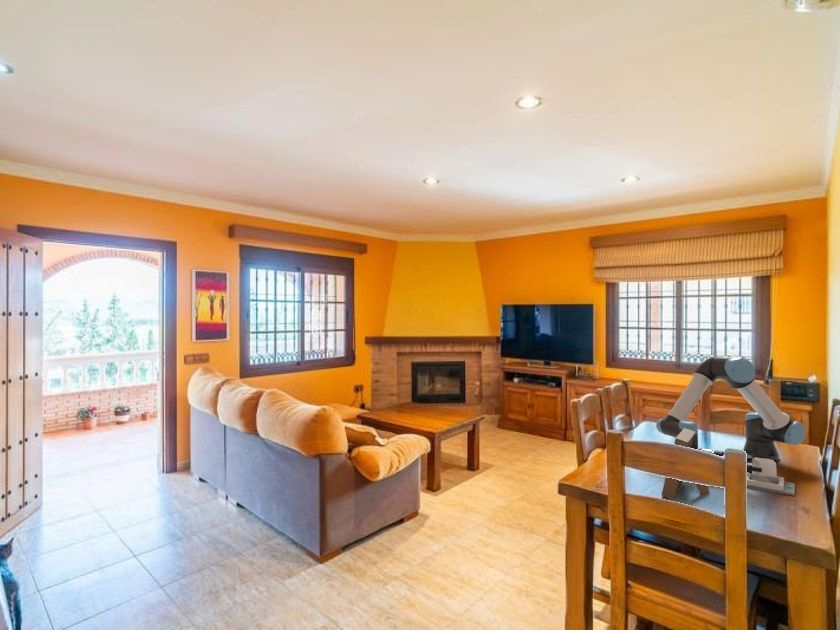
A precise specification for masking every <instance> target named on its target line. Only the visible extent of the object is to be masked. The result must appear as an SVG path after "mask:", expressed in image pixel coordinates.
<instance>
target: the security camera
mask: <svg viewBox="0 0 840 630" xmlns="http://www.w3.org/2000/svg"><path fill="white" fill-rule="evenodd" d="M751 464H752V465H757V466H763V467H770V468H772V475H770V474H764V473H758V472H753V473H755V474H757V475H758V476H759V477H761V478H752V480H756V481H762V482H768V483H772V482H770V481H769V480H767V479H765V478H764V477H763V476H773V477H778V476H777V475H778V473H777V463H776V462H775V461H772V460H770V459H763V458H752V463H751ZM752 465H751V466H752Z"/></svg>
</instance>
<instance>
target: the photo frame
mask: <svg viewBox="0 0 840 630" xmlns="http://www.w3.org/2000/svg"><path fill="white" fill-rule="evenodd" d="M694 436H695V431H692V430H689V429H686V428H684V429H683V430H682V431H681V432H680V434H679V435H678V436H677V437H676V438H675V437H674V438H675V439H674V443H673V445H674V444H676V445H681V446H685V447H690V448H692V444H693V440H694ZM683 483H684V481H683V482H682V481H679V480H676V479H672V478H667V477H666V476H665V479H664V483H663V487H662V491H661V496H663V497H666V498H667V499H670V500H672V501H673V500H675V498H676V496H677V494H678V492H680V491H679V490H680V489H681V488H682V486H683ZM695 486H696V488H697V490H698V493H699V494H700V495H701V496H702V495H706V494H707V495H708V494H710V489H709V485H708V486H705V485H700V484H695Z"/></svg>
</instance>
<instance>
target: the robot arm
mask: <svg viewBox="0 0 840 630" xmlns="http://www.w3.org/2000/svg"><path fill="white" fill-rule="evenodd" d="M755 370H756V369H755V366H754V364H753V363H752V362H751V361H750V360H748V359H746V358H743V357H737V356H720V355H717V356H711V357H709V358H707V359H705V360H704V361H702V362H701V363H700V364H699V365H698V366H697V367H696V369H695V370H694V372H693V373H692V379H691V380H690V381H689V383H688V384H687V386H686V387H685V389H684V390H683V391H682V393H681V394H680V396H679V398H678V399H677V400H676V402H675V403H674V405H673V407H672V408H671V410H670V411H669V412H668V414H667V416H665V417H664V418H660V419H658V420H657V421H656V423H655V424H656V426H655V427H656V430H657V432H659V433H661V434H663V435H664V436H665V435H666V436H669V437H672V438H676V437H677V436H678V435H679V434H680V432H681V431H682V430H683V429H684V428H686V429H689V430H692V431H695V436H694V440H693V444H692V448H694V449H698V450H702V451H706V452H709V453H712V454H716V455H719V456H723V455H724V454H725V451H722V450H713V449H708V448H702V447H701V448H700V447H699V435H698V434H699V430H698V424H697V423H696V422H695V421H693V420H686V419H687V418H688V416H689V415H690V413H691V412H692V410H693V409H694V408H695V407H696V405H697V403H698V402H699V400H700V399H701V397H702V396H703V394H704V393H705V392H706V390H707V389H708V387H709V386H712V385H714V382H715V381H717V380H721V381H725V382H726V383H727V385H728V386H729V387H731V389H735V390H737V391H738V392H739V393H740V394H741V396H742V397H743V398H744V399H745V400H746V401H747V403H748V404H749V405H750V406H751V407H752V409H754V411H755V412H748V413H746V414H745V416H744V424H745V425H744V426H745V427H744V428H745V442H744V445H743V448H742V451H743V450H744V451H746V453H747V463H746V464H747V472H748V473H750V474H752V473H754V472H758V473H764V474H770V475H772V468H770V467H763V466H757V465H750V464H752V458H763V459H770V460H772V461H774V460H776V461H779V460H780V455H779V451H778V449H777V447H776V445H775V442H779V443H781V444H785V445H788V446H789V445H790V446H798V445H800V444H801V443H802V442H803V441H804V440H805V438H806V432H807V431H806V427H805V425H804V424H803V423H801V422H799V421H797V420H796V421H795V420H793V419H792V418H791V416H790V415H789V414H788V413H787V412H784V411H781V410H780V408H779V407H778V406H777V404H775V402H773V400H772V399H771V398H770V397H769V395H768V394H767V393H766V392H765V390H764V389H763V388H762V387H761V386H760V385H759V384H758V382H757V381H756V371H755ZM778 459H779V460H778ZM774 462H775V461H774Z"/></svg>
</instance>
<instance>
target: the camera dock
mask: <svg viewBox="0 0 840 630" xmlns="http://www.w3.org/2000/svg"><path fill="white" fill-rule="evenodd" d="M763 477H764V478H765V479H767V480H769V481H770V482H772V483H768V482H762V481H756V480H752V478H761V477H759V476H758V475H757V474H755V473H754V472H752V474H750V473H748V472H747V488H746V489H752V490H758V491H764V492H769V493H775V494H780V495H785V494H786V495H785V496H791V495H792V497H795V495H796V493H795V492H796V490H795V489H796V484H795V483H796V482H795V483H794V482H790V481H785V477H782V476H777V477H773V476H763Z"/></svg>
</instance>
